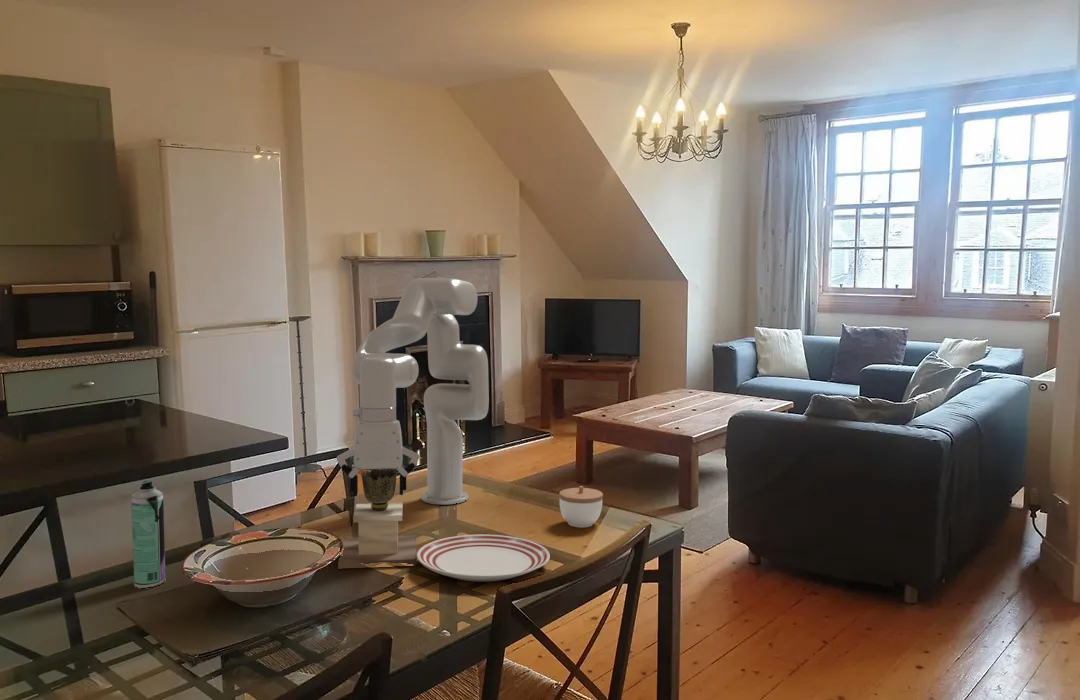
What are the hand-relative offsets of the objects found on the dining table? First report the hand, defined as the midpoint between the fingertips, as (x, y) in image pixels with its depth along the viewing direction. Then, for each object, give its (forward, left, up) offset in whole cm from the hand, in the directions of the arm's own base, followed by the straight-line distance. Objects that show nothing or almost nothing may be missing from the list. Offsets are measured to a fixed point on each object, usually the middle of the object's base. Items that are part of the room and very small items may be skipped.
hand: (378, 494), depth 171 cm
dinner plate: (+10, +22, -14) cm, 28 cm away
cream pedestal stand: (0, 0, -13) cm, 13 cm away
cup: (0, 0, -4) cm, 4 cm away
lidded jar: (-17, +48, -14) cm, 53 cm away
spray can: (+11, -43, -14) cm, 46 cm away
